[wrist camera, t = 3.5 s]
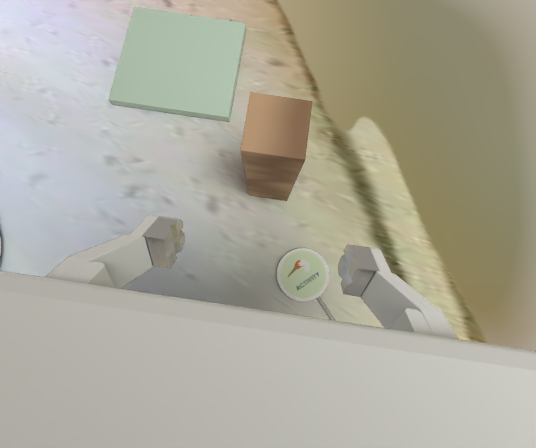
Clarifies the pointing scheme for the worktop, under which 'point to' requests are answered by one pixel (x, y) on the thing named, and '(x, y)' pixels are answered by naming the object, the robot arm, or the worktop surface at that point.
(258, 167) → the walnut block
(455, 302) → the worktop surface
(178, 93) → the rubber mat
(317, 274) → the sign
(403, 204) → the worktop surface
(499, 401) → the robot arm
